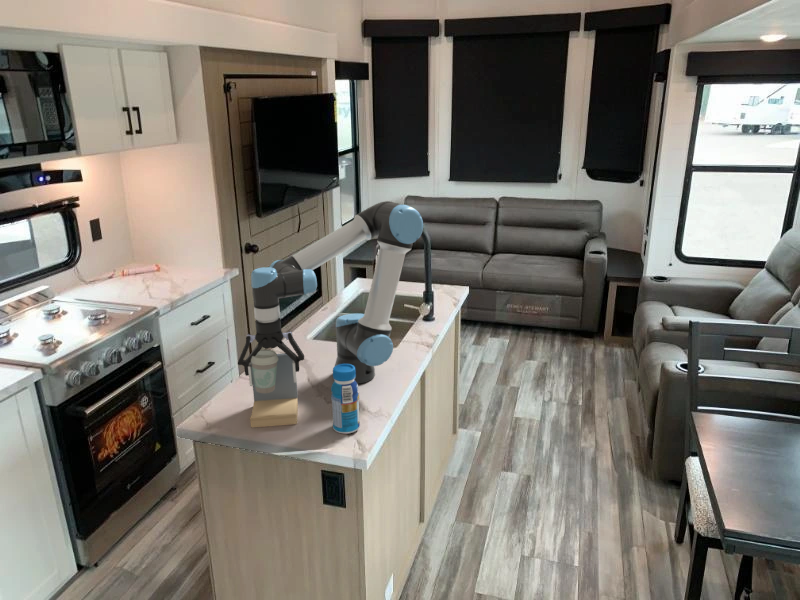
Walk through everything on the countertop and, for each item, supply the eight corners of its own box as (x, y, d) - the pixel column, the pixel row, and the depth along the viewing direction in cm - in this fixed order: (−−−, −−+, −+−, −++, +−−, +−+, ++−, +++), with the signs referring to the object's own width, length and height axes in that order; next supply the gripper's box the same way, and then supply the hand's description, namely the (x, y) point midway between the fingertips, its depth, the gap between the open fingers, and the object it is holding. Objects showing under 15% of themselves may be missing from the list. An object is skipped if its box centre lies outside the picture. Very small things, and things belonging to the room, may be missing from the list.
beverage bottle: (327, 431, 179) (324, 370, 173) (341, 418, 186) (338, 360, 180) (352, 437, 175) (349, 375, 169) (364, 424, 183) (363, 364, 177)
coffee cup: (246, 393, 182) (245, 357, 179) (258, 382, 190) (257, 347, 187) (272, 397, 181) (271, 360, 177) (283, 385, 189) (282, 350, 185)
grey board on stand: (298, 402, 197) (294, 352, 191) (297, 424, 183) (293, 371, 177) (255, 405, 195) (250, 355, 189) (250, 428, 181) (245, 374, 175)
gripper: (309, 312, 184) (313, 374, 190) (227, 317, 181) (234, 380, 187) (309, 320, 177) (313, 384, 183) (223, 325, 174) (231, 391, 180)
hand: (273, 382), depth 185 cm, fingers open, 13 cm apart
